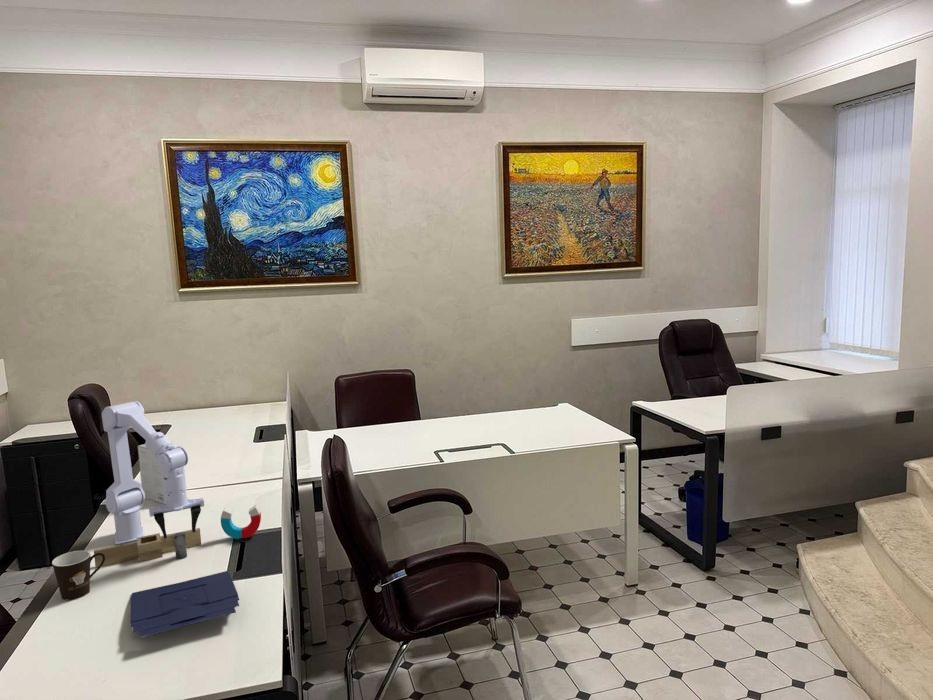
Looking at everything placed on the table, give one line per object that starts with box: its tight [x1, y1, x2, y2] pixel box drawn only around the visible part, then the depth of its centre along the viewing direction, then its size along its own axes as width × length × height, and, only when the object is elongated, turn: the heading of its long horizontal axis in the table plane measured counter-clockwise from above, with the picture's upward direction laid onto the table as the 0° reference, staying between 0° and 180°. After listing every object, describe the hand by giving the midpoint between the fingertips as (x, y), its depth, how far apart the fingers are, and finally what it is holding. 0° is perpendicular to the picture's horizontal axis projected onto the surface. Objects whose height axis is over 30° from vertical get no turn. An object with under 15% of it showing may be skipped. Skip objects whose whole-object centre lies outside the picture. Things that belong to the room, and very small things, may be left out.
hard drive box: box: [137, 443, 181, 505], centre depth 232 cm, size 16×8×20 cm, turn 58°
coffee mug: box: [51, 550, 105, 601], centre depth 168 cm, size 12×9×10 cm
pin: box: [174, 531, 188, 560], centre depth 187 cm, size 3×3×7 cm
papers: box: [129, 570, 240, 638], centre depth 160 cm, size 24×30×4 cm
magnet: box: [220, 504, 262, 540], centre depth 199 cm, size 12×3×10 cm, turn 102°
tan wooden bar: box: [93, 527, 202, 569], centre depth 189 cm, size 6×28×5 cm, turn 119°
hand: (179, 533), depth 187 cm, fingers open, 7 cm apart
